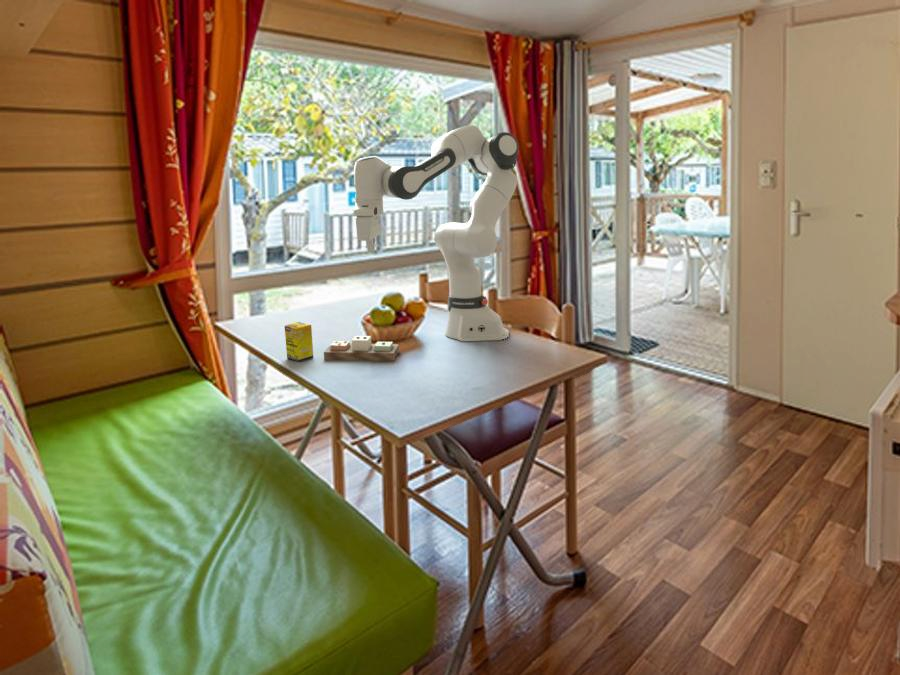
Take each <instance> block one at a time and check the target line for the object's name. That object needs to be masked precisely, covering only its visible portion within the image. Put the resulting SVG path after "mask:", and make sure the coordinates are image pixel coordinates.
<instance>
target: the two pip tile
mask: <svg viewBox="0 0 900 675" xmlns="http://www.w3.org/2000/svg"><path fill="white" fill-rule="evenodd" d="M351 344H352V351H369V350H370V349H371V344H372V335H355V336H354V337H353V338H352V339H351Z"/></svg>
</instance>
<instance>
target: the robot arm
mask: <svg viewBox="0 0 900 675" xmlns="http://www.w3.org/2000/svg"><path fill="white" fill-rule="evenodd" d="M519 147H520V146H519V142H518V139H517V138H516V137H515V136H514V135H513V134H512V133H510V132H506V131H504V132H498V133H496V134H494V135H493V136H491V137H489V138H487V137H485V136H484V134H483V133H482V130H480V128H479V127H477V125H473V124H467V125H465V126H461V127H458V128H454V129H453V130H450V131H449V132H447V133H445V134H443V135H442V136H440V137H438V138H437V140H435V141H434V142H433V143H432V145H431V152H430V153H431V156H429V157H428V158H426V159H425V160H422V161H421V162H420V163H418V164H416V165H414V166H412V165H410V166H409V165H408V166H406V165H405V166H393V165H391V164H389V163H387V162H385V161H384V160H382V159H381V158H380V157H379V156H377V155H370V156H365V157H361V158H359V159H357V160H356V161H355V163H354V171H353V178H354V179H353V181H354V182H353V185H354V189H355V195H354V196H355V197H354V204H355V205H354V209H353V216H354V217H355V226H356V234H357V235H356V236H357V239H358V240H359V241H361V242H362V241H363V242H364V241H365V243H366V248H367V250H366V251H367V253H373V252H374V251H375V246H376V237H378V236H380V235H381V234H382V230H383V229H382V228H383V227H382V218H381V215H383V214H384V202H383V201H384V200H383V198H384V196H386V197H389V198H396V199H397V198H398V199H401V200H405V201H406V200H407V201H408V200H412V199H414V198H415V197H417V196H418V195H419V194H420V193H421V191H422V189H423V188H424V187H425V186H426V185H427V184H428V183H429V182H431V181H432V180H434V179H436V178H437V177H439V176H440V175H443V173H445V172H446V171H448V170H450V169H454V168H456V167H457V166H460V165H461V164H463V163H466V161H467V162H469V164H470V166H471V168H472V169H473V170H474V172H476V173H477V174H479V175H482V176H486V177H485V180H484V182H483V184H481V186H480V188H479V189H478V191H477V192H476V194H475V195H474V197H473V198H472V200H471V201H470V202H469V212H470V214H471V216H470V219H469V220H468V221H467V222H465V223H463V222H456V221H455V222H454V221H453V222H447V223H444V224H443V223H442V224H441V225H439V226H438V227H437V228H436V231H435V233H434V244H435V246H436V247H437V248H438V250H439V251H440V253H441V254H442V257H443V259H444V261H445V265H446V268H447V272H448V284H449V285H448V288H449V290H448V291H449V295H448V298H447V309H448V320H447V325H446V326H447V327H446V330H445V334H444V335H445V336H446V337H447V338H450V339H455V340H458V341H460V342H482V341H483V342H484V341H485V342H486V341H487V342H488V341H503V340H502V339H504V340H506V339H508V338H509V337H510V332H509V330H508V329H507V328H505V327H504V325H503V321H502V320H503V319H502V317H501V316H500V315H499V314H498V313H496V311H494V310H493V309H492V308H490V307H489V306H488V305H487V304H489V301H488V299H487V296H486V295H482V275H481V271H480V270H479V269H478V268H477V266H476V265H475V263H474V261H473V258H475V259H478V258H485V257H486V258H487V257H489V256H492V255H493V253H495V250H496V249H497V247H498V246H497V245H498V237H497V233H496V232H495V229H496V226H497V225H496V224H497V222H498V220H499V218H500V217H501V215H502V213H503V212H504V210H505V209H506V208H507V207H508V204H509V202H510V201H511V199H512V197H513V195H514V192H515V190H516V189H517V186H518V178H517V176H516V174H515V173H514V172H513V171H512V169H513V168H515V167H516V164H517V158H518V154H519V150H520V148H519ZM507 337H508V338H507ZM505 338H506V339H505Z"/></svg>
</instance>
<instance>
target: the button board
mask: <svg viewBox="0 0 900 675" xmlns="http://www.w3.org/2000/svg"><path fill="white" fill-rule="evenodd" d="M375 344H376V343H371V349H370V350H369V351H352V342H350V347H349V349H348V350H331V348H330V345H329V346H328V347H327V348H326V349H324V351H323V360H324V361H369V362H371V361H372V362H376V361H377V362H394V361H395V360H396V357H397V356H398V355H399V353H400V344H399V343H398V344H397V343H393V349H392V350H391V351H374V346H375Z"/></svg>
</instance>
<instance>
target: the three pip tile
mask: <svg viewBox="0 0 900 675" xmlns="http://www.w3.org/2000/svg"><path fill="white" fill-rule="evenodd" d="M350 343H351V341H350V340H334V341H332V343H331V344H330V345H329V346H330V348H331V350H348V349H349V347H350Z"/></svg>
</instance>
